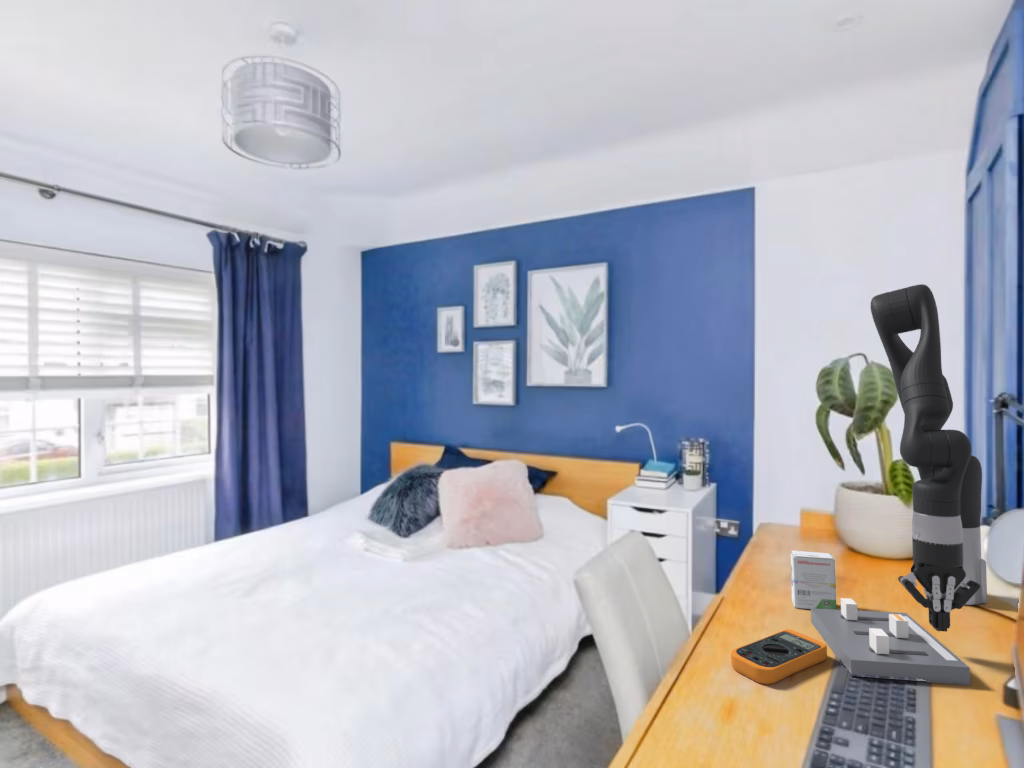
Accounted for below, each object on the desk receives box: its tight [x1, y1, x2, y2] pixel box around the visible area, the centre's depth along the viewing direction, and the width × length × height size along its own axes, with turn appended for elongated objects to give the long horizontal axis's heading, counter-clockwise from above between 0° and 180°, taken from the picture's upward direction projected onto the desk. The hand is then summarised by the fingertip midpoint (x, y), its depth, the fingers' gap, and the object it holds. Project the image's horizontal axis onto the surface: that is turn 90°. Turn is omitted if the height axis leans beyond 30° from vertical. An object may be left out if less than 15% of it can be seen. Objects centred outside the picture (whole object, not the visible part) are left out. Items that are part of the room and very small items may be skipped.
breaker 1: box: [840, 597, 858, 620], centre depth 114 cm, size 2×3×3 cm, turn 168°
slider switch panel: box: [810, 608, 971, 686], centre depth 106 cm, size 18×22×3 cm
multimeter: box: [730, 628, 828, 685], centre depth 103 cm, size 9×18×3 cm, turn 119°
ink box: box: [790, 550, 837, 610], centre depth 127 cm, size 9×5×12 cm, turn 70°
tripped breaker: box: [889, 614, 909, 638], centre depth 105 cm, size 2×3×3 cm, turn 168°
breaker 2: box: [869, 628, 889, 654], centre depth 100 cm, size 2×3×3 cm, turn 168°
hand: (939, 629), depth 104 cm, fingers closed
